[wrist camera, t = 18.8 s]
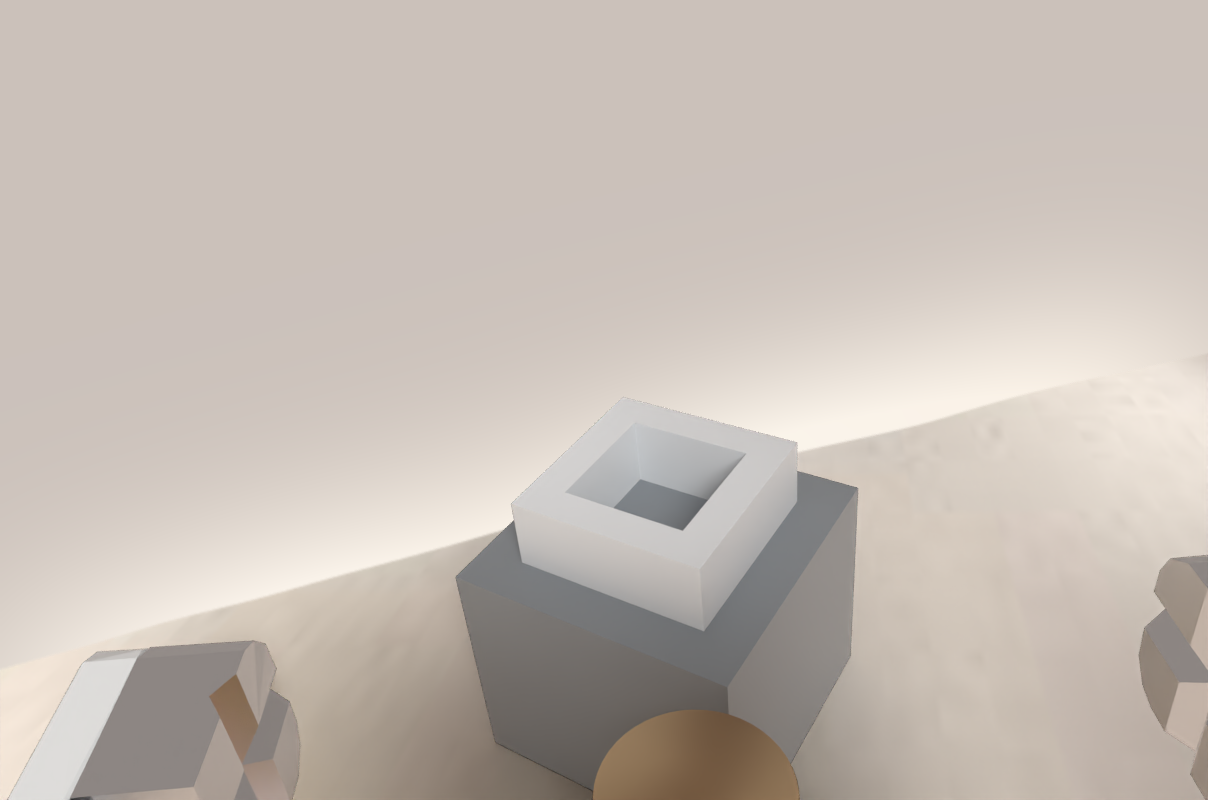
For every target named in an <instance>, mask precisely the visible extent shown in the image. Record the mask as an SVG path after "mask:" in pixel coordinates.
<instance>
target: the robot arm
mask: <svg viewBox="0 0 1208 800" xmlns="http://www.w3.org/2000/svg"><path fill="white" fill-rule="evenodd" d="M1154 592H1155V594H1156V595H1157V597H1158V598H1159V600H1160V601H1161V603H1162V604H1163V606H1164V607H1165V610H1164V611H1163V612H1161V613H1160V614H1159V615H1158V616H1157V617H1156V618H1155V619H1154V620H1153V621H1151V622H1150V623H1149V624H1148V625H1147V626H1146V627H1145V628H1144V632H1143V637H1142V642H1141V647H1140V651H1139V661H1140V669H1141V677H1142V685H1143V688H1144V690H1145V693H1146V696H1147V698H1148V701H1149V704H1150V707H1151V709H1152V710H1153V712H1154V714H1155V716H1156V717H1157V719H1158V721H1159V723H1160V724H1161V726H1162V728H1163V730H1164V731H1165V732H1166V733H1168V734H1169V735H1171V736H1172V737H1174V738H1175V739H1177V740H1178V741H1180V742H1181V743H1183V744H1185V745H1186V746H1188V747H1189V748H1191V749H1192V750H1194V751H1195V756H1194V760H1193V765H1192V769H1191V774H1190V775H1191V776H1192V778H1193V780H1194V781H1195V783H1196V785H1197V786H1198V788H1199V790H1200V791H1201V793H1202V795H1203V796H1204V798H1205V799H1206V800H1208V555H1201V556H1191V557H1181V558H1171V559H1169V561H1168V562H1167V563H1166V564H1165V565H1164V566H1163V567H1162V569H1161V570H1160V572H1159V575H1158V579H1157V582H1156V586H1155V589H1154ZM276 669H277V668H276V666H275V664H274V662H273V659H272V657H271V655H270V653H269V651H268V648H267V646H266V644H265V643H261V642H258V641H241V642H225V643H209V644H194V645H178V646H163V647H150V648H149V649H134V650H117V651H101V652H96V653H95V654H93V655H92V656H91V657H90V658H88V659H87V660H86V661H84V662H83V663H82V664H81V666H80V668H79V669H78V671H77V673H76V675H75V677H74V678H73V680H72V682H71V684H70V686H69V688H68V689H67V691H66V693H65V695H64V697H63V699H62V700H61V702H60V704H59V706H58V708H57V710H56V711H55V713H54V715H53V717H52V719H51V720H50V722H49V724H48V726H47V728H46V730H45V731H44V733H43V735H42V737H41V739H40V741H39V742H38V744H37V746H36V748H35V750H34V752H33V753H32V755H31V757H30V759H29V761H28V763H27V764H26V766H25V768H24V770H23V772H22V773H21V775H20V777H19V779H18V781H17V783H16V784H15V786H14V788H13V790H12V792H11V794H10V795H9V797H8V799H7V800H293V796H294V792H295V788H296V784H297V780H298V776H299V759H300V739H299V732H298V726H297V720H296V718H295V715H294V712H293V709H292V707H291V704H290V702H289V701H288V700H286V699H285V698H283V697H282V696H280V695H279V694H277V693H276V692H274V691H273V690H271V689H270V688H271V685H272V682H273V678H274V675H275V672H276Z"/></svg>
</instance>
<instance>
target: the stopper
mask: <svg viewBox="0 0 1208 800" xmlns="http://www.w3.org/2000/svg"><path fill="white" fill-rule="evenodd" d="M593 800H800V798H799V788H798V783H797V779H796V776H795V773H794V770H793V768H792V766H791V764H790V762H789V760H788V758H787V757H786V755H785V754H784V752H783V751H782V750H781V748H780V747H779V746H778V745H777V744H776V743H775V742H774V741H773V740H772V739H771V738H770V737H769V736H768V735H767V734H765V733H764V732H763V731H762V730H760V729H759V728H757V727H755V726H754V725H752V724H750V723H748V722H746V721H744V720H742V719H740V718H737V717H735V716H732V715H729V714H725V713H721V712H717V711H709V710H681V711H675V712H670V713H666V714H662V715H659V716H656V717H653V718H651V719H649V720H646V721H644V722H643V723H641V724H639V725H637V726H635V727H634V728H632V729H631V730H630V731H628V732H627V733H626V734H624V735H623V736H622V737H621V738H620V739H619V740H618V741H617V742H616V743H615V744H614V745H613V747H612V748H611V749H610V750H609V751H608V753H607V755H606V756H605V758H604V759H603V761H602V763H601V765H600V768H599V770H598V772H597V776H596V779H595V783H594V789H593Z"/></svg>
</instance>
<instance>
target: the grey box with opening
mask: <svg viewBox="0 0 1208 800" xmlns="http://www.w3.org/2000/svg"><path fill="white" fill-rule="evenodd" d="M857 503H858V488H857V487H853V486H849V485H846V484H842V483H838V482H835V481H831V480H828V479H824V478H820V477H817V476H813V475H810V474H806V473H802V472H799V471H797V442H793V441H790V440H786V439H782V438H778V437H774V436H770V435H767V434H763V433H759V432H755V431H751V430H747V429H744V428H740V427H736V426H732V425H728V424H724V423H720V422H717V421H713V420H709V419H705V418H702V417H697V416H694V415H690V414H686V413H682V412H678V411H674V410H670V409H667V408H663V407H659V406H656V405H652V404H648V403H644V402H640V401H636V400H633V399H629V398H625V397H623V398H621V400H619V401H618V402H617V403H616V404H615V405H614V406H613V407H612V408H611V409H610V410H609V411H608V412H607V413H606V414H605V415H604V416H603V417H601V418H600V419H599V420H598V421H597V422H596V423H595V424H594V425H593V426H592V427H591V428H590V429H589V430H588V431H587V432H586V433H585V434H584V435H583V436H582V437H580V439H578V440H577V441H576V442H575V443H574V444H573V445H572V446H571V447H570V448H569V449H568V450H567V451H566V452H565V453H564V454H563V455H562V456H561V457H559V458H558V459H557V460H556V461H555V462H554V463H553V464H552V465H551V466H550V467H549V468H548V469H547V470H546V471H545V472H544V473H543V474H542V475H541V476H540V477H539V478H537V479H536V480H535V481H534V482H533V483H532V484H531V485H530V486H529V487H528V488H527V489H526V490H525V491H524V492H523V493H522V494H521V495H520V496H519V497H518V498H516V499H515V500H514V501H513V502H512V503H511V507H512V512H513V517H514V521H513V522H512V523H511V524H510V525H508V526H507V527H506V528H505V529H504V530H503V531H502V532H501V533H500V534H499V535H498V536H497V537H496V538H495V539H494V540H493V541H492V542H491V543H490V544H489V545H488V546H487V547H486V548H485V549H484V550H483V551H482V552H481V553H480V554H479V555H478V556H477V557H476V558H475V559H474V560H473V561H472V562H471V563H469V564H468V565H467V566H466V567H465V568H464V569H463V570H462V571H461V572H460V573H459V574H458V575H457V576H456V581H457V586H458V590H459V594H460V598H461V602H462V606H463V611H464V615H465V619H466V623H467V627H468V631H469V635H470V640H471V644H472V648H473V652H474V656H475V660H476V665H477V669H478V673H479V677H480V681H481V685H482V690H483V694H484V698H485V702H486V706H487V710H488V714H489V719H490V723H491V727H492V731H493V735H494V739H495V742H496V743H498V744H500V745H502V746H504V747H506V748H508V749H510V750H512V751H514V752H516V753H518V754H520V755H522V756H524V757H526V758H528V759H530V760H532V761H534V762H536V763H538V764H540V765H542V766H544V767H546V768H548V769H550V770H552V771H554V772H556V773H558V774H560V775H562V776H564V777H566V778H568V779H570V780H572V781H574V782H576V783H578V784H580V785H582V786H584V787H586V788H588V789H590V790H592V791H593V789H594V783H595V779H596V776H597V772H598V770H599V768H600V765H601V763H602V761H603V759H604V758H605V756H606V755H607V753H608V751H609V750H610V749H611V748H612V747H613V745H614V744H615V743H616V742H617V741H618V740H619V739H620V738H621V737H622V736H623V735H624V734H626V733H627V732H628V731H630V730H631V729H632V728H634V727H635V726H637V725H639V724H641V723H643V722H644V721H646V720H649V719H651V718H653V717H656V716H659V715H662V714H666V713H670V712H675V711H681V710H709V711H717V712H721V713H725V714H729V715H732V716H735V717H737V718H740V719H742V720H744V721H746V722H748V723H750V724H752V725H754V726H755V727H757V728H759V729H760V730H762V731H763V732H764V733H765V734H767V735H768V736H769V737H770V738H771V739H772V740H773V741H774V742H775V743H776V744H777V745H778V746H779V747H780V748H781V750H782V751H783V752H784V754H785V755H786V757H787V758H788V760H789V762H790V764H791V762H792V760H793V759H794V757H795V755H796V753H797V751H798V750H799V748H800V746H801V744H802V742H803V741H804V739H805V737H806V735H807V733H808V732H809V730H810V728H811V726H812V724H813V722H814V721H815V719H816V717H817V715H818V713H819V712H820V710H821V708H822V706H823V704H824V703H825V701H826V699H827V697H828V695H829V694H830V692H831V690H832V688H833V686H834V685H835V683H836V681H837V679H838V677H839V676H840V674H841V672H842V670H843V668H844V667H845V665H846V663H847V661H848V659H849V658H850V656H851V636H852V614H853V591H854V569H855V547H856V525H857Z"/></svg>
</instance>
